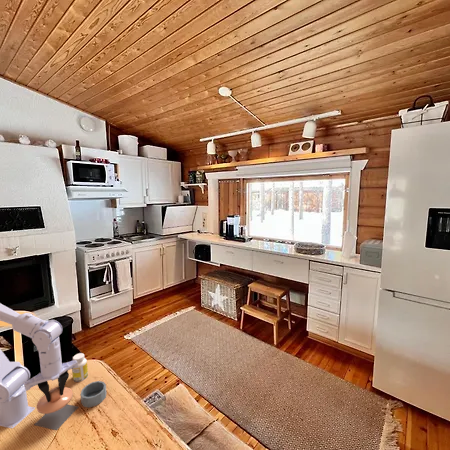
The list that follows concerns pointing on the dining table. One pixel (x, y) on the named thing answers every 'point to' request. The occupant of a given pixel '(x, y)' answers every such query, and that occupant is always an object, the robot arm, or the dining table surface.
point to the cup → (93, 394)
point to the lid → (54, 400)
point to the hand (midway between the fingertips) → (54, 396)
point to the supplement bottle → (80, 368)
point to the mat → (56, 417)
